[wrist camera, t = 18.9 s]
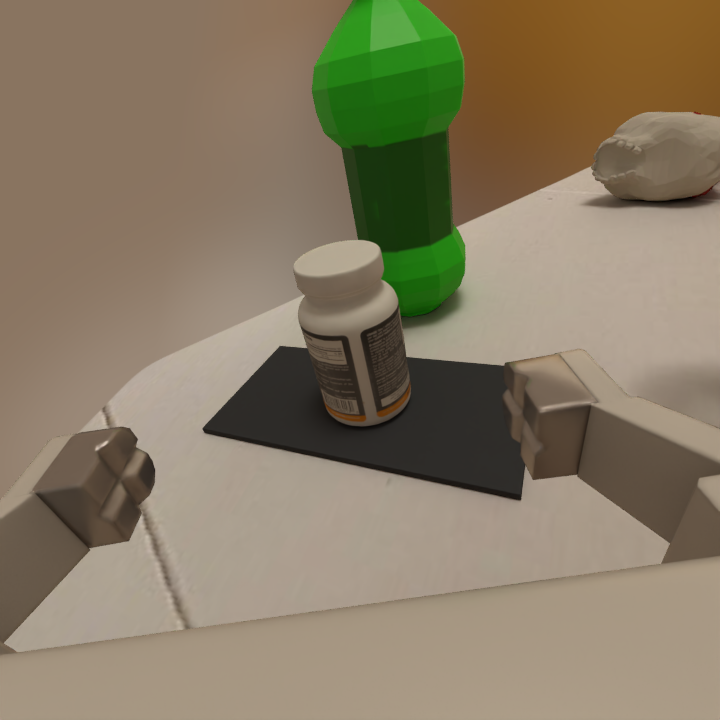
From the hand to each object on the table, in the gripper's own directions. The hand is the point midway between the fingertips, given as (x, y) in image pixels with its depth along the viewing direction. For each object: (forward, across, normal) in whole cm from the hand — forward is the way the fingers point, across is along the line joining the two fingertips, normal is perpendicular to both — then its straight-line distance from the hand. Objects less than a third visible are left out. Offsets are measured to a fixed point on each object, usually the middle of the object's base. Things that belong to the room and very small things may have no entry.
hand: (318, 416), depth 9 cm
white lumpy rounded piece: (+42, -38, +12) cm, 58 cm away
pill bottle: (+14, 0, +12) cm, 18 cm away
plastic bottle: (+27, -5, +12) cm, 30 cm away
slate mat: (+14, 0, +12) cm, 18 cm away
